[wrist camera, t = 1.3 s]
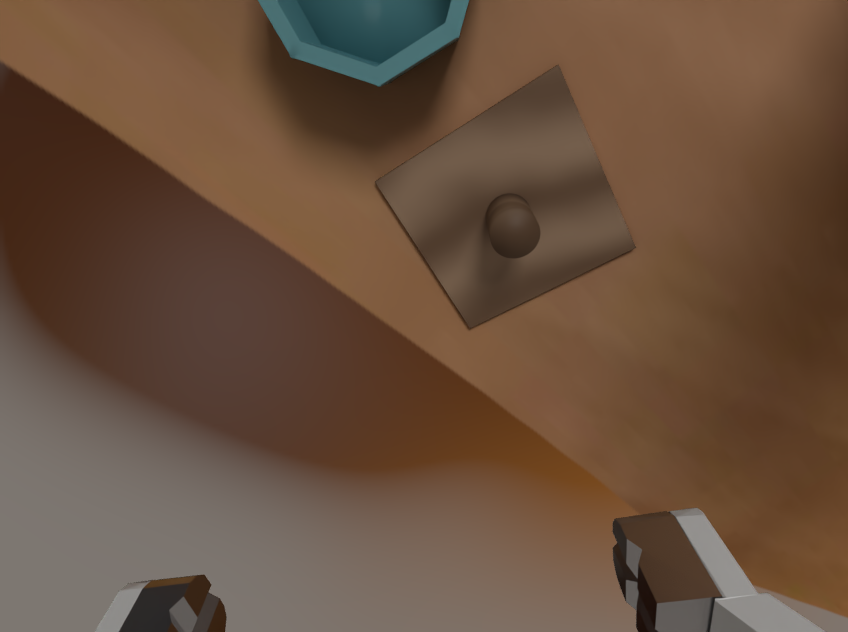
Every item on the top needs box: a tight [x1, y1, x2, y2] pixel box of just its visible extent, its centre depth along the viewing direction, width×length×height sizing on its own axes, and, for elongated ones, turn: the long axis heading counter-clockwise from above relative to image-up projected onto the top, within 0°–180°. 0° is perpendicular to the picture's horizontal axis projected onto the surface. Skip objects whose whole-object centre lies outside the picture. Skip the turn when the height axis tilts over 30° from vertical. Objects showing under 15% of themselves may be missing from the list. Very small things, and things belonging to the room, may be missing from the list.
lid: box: [375, 65, 636, 328], centre depth 30 cm, size 13×13×5 cm
